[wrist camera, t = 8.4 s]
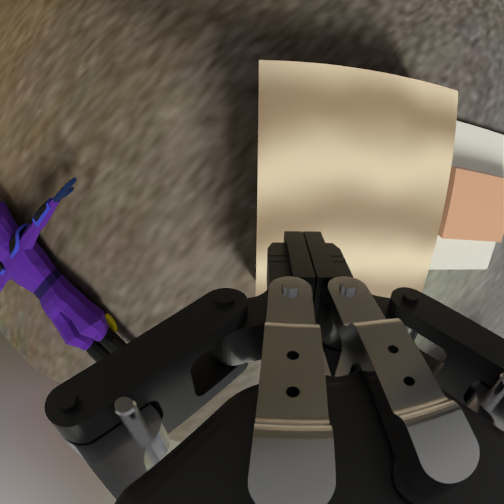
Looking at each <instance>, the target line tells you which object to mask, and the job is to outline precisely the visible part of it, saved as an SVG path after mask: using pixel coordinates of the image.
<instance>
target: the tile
mask: <svg viewBox="0 0 504 504" xmlns="http://www.w3.org/2000/svg"><path fill="white" fill-rule="evenodd" d="M503 234H504V177H503V176H499V175H495V174H490V173H486V172H482V171H477V170H472V169H468V168H463V167H458V166H453V165H451V171H450V178H449V184H448V189H447V195H446V200H445V205H444V210H443V215H442V219H441V224H440V228H439V232H438V235H439V236H440V237H441V238H442V239H459V240H476V241H491V242H501V240H502V237H503Z"/></svg>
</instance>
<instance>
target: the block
mask: <svg viewBox="0 0 504 504" xmlns="http://www.w3.org/2000/svg"><path fill="white" fill-rule="evenodd" d="M457 105H458V91H456V90H452V89H449V88H446V87H442V86H439V85H435V84H432V83H428V82H424V81H420V80H416V79H412V78H407V77H403V76H398V75H394V74H389V73H384V72H378V71H373V70H367V69H360V68H354V67H347V66H339V65H331V64H321V63H310V62H296V61H277V60H259V102H258V183H257V249H256V296H259V295H261V294H263V293H264V292H265V291H266V290H267V248H268V247H269V246H270V245H271V243H272V242H284V231H302V232H303V231H320V232H321V234H322V236H323V238H324V241H325V243H333V244H335V245H336V246H337V247H338V248H340V250H341V252H342V254H343V257H344V258H345V260H346V263H347V264H348V267H349V269H350V271H351V273H352V275H353V277H354V278H356V279H358V280H360V281H362V282H363V283H364V284H365V285H366V286H367V288H368V289H369V291H370V293H371V294H372V295H376V296H381V297H386V298H390V297H391V293H392V291H393V290H395V289H397V288H400V287H408V288H412V289H415V290H418V291H420V292H421V293H422V289H423V286H424V283H425V280H426V277H427V273H428V270H429V266H430V263H431V259H432V256H433V252H434V248H435V244H436V240H437V236H438V232H439V228H440V224H441V219H442V215H443V210H444V205H445V200H446V195H447V189H448V184H449V178H450V171H451V165H452V157H453V150H454V141H455V131H456V120H457Z"/></svg>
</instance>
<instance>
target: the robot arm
mask: <svg viewBox="0 0 504 504" xmlns="http://www.w3.org/2000/svg"><path fill="white" fill-rule="evenodd" d="M417 333H419V334H420V335H422V336H423V337H425V338H427V339H428V340H430V341H432V342H433V343H435V344H437V345H438V346H440V347H442V348H443V349H444V350H445V352H446V354H447V359H446V361H445V362H439V361H437V360H436V359H434V358H433V357H431V356H429V355H428V354H426V353H425V352H423V351H421V350H420V349H418V347H417V346H416V344H415V342H414V340H415V338H416V336H417ZM260 359H261V370H260V380H259V384H257V385H254V386H251V387H249V388H247V389H244V390H242V391H241V392H239V393H237V394H236V395H234V396H233V397H231V398H230V399H229V400H228V401H226V402H225V403H224V404H223V405H222V406H221V407H220V408H219V409H218V410H217V411H216V412H215V413H214V414H212V415H211V416H210V417H209V418H208V419H207V420H206V421H205V422H204V423H203V424H202V425H201V426H199V427H198V428H197V429H196V430H195V431H194V432H193V433H192V434H190V435H189V436H188V437H187V438H186V439H185V440H184V441H183V442H181V443H180V444H179V445H178V446H177V447H176V448H174V449H173V450H172V451H171V452H170V453H169V454H168V455H166V456H165V457H164V458H163V459H162V460H160V459H161V458H162V457H163V456H164V455H165V454H166V452H167V451H168V449H169V445H170V438H169V435H168V434H169V433H170V432H171V431H172V430H174V429H175V428H176V427H177V426H179V425H180V424H181V423H182V422H184V421H185V420H186V419H187V418H189V417H190V416H191V415H192V414H194V413H195V412H196V411H197V410H199V409H200V408H201V407H202V406H203V405H205V404H206V403H207V402H208V401H209V400H211V399H212V398H213V397H214V396H215V395H217V394H218V393H219V392H220V391H221V390H222V389H224V388H225V387H226V386H227V385H228V384H229V383H230V382H232V381H233V380H234V379H235V378H236V377H237V376H238V375H240V374H241V373H242V372H243V371H244V370H245V369H246V367H247V366H248V362H252V361H256V360H260ZM45 413H46V416H47V417H48V419H49V420H50V421H51V422H52V424H53V425H54V426H55V427H56V428H57V429H58V431H59V432H60V434H61V435H62V437H63V438H64V439H65V440H66V441H67V442H68V444H69V445H70V446H71V447H72V448H73V449H74V450H75V451H76V452H77V453H78V454H79V455H80V456H81V457H82V458H84V459H85V460H86V462H87V463H88V465H89V466H90V467H91V468H92V470H93V471H94V472H95V474H96V475H97V476H98V478H99V479H100V480H101V481H102V483H103V484H104V485H105V486H106V488H107V489H108V490H109V491H110V492H111V493H112V495H113V496H114V497H115V498H116V499H117V500H116V502H115V504H504V339H503V338H501V337H500V336H498V335H496V334H495V333H493V332H491V331H489V330H488V329H486V328H484V327H483V326H481V325H479V324H477V323H476V322H474V321H472V320H470V319H469V318H467V317H465V316H463V315H461V314H460V313H458V312H456V311H454V310H453V309H451V308H449V307H447V306H445V305H443V304H442V303H440V302H438V301H436V300H434V299H433V298H431V297H429V296H427V295H425V294H423V293H421V292H420V291H418V290H415V289H412V288H408V287H400V288H397V289H395V290H393V291H392V293H391V297H390V298H386V297H381V296H376V295H372V294H371V293H370V291H369V289H368V288H367V286H366V285H365V284H364V283H363V282H362V281H360V280H358V279H356V278H354V277H353V275H352V273H351V271H350V269H349V267H348V264H347V263H346V260H345V258H344V257H343V254H342V252H341V250H340V248H338V247H337V246H336V245H335V244H333V243H325V241H324V238H323V236H322V234H321V232H320V231H303V232H302V231H284V242H272V243H271V245H270V246H269V247H268V248H267V290H266V291H265V292H264V293H263V294H261V295H259V296H256V297H252V298H247V297H246V296H245V294H244V293H242V292H241V291H238V290H236V289H231V288H221V289H216V290H213V291H211V292H209V293H207V294H206V295H204V296H203V297H201V298H200V299H198V300H196V301H195V302H193V303H192V304H190V305H188V306H187V307H185V308H184V309H182V310H180V311H179V312H177V313H176V314H174V315H172V316H171V317H169V318H168V319H166V320H164V321H163V322H161V323H160V324H158V325H156V326H155V327H153V328H152V329H150V330H148V331H147V332H145V333H143V334H142V335H140V336H139V337H137V338H135V339H134V340H132V341H131V342H129V343H127V344H126V345H124V346H122V347H121V348H119V349H118V350H116V351H114V352H113V353H111V354H109V355H108V356H106V357H105V358H103V359H101V360H100V361H98V362H96V363H95V364H93V365H92V366H90V367H88V368H87V369H85V370H83V371H82V372H80V373H78V374H77V375H75V376H73V377H72V378H70V379H69V380H67V381H65V382H64V383H62V384H60V385H59V386H57V387H56V388H54V389H53V390H52V391H51V393H50V394H49V395H48V397H47V399H46V402H45ZM159 460H160V461H159Z"/></svg>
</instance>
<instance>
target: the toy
mask: <svg viewBox="0 0 504 504" xmlns="http://www.w3.org/2000/svg"><path fill="white" fill-rule="evenodd" d="M75 182H76V177H75V178H73V179H72V180H70V181H69V182H68V183H66V184H65V186H64V187H63V188H62V189H61V190H60V191H59V192H58V193H57V194H56V196H55V197H54V198H49V199H48V200H47V201H46V202H45V203H44V204H43V205H42V206H41V207H40V208H39V210H38V211H37V212H36V213H35V215H34V217H33V219H32V221H33V222H32V223H31V224H27V223H25V224H23V225H21V226H20V227H19V226H18V224H17V223H16V221H15V220H14V218H13V217H12V216H11V214H10V212H9V210H8V207H7V205H6V203H5V202H2V201H0V291H1V290H2V289H3V288H4V286H5V284H6V282H7V281H8V280H10V279H12V280H13V281H15V282H16V283H17V284H19V285H20V286H22V287H24V288H26V289H27V290H29V291H31V292H32V293H34V294H35V295H36V297H37V298H38V299H39V300H40V303H41V306H42V308H43V310H44V311H45V313H46V315H47V316H48V317H49V318H50V319H51V320H52V322H53V323H54V325H55V327H56V328H57V330H58V331H59V333H60V335H61V336H62V338H63V340H64V341H65V343H66V344H67V345H71V346H75V347H79V348H81V349H83V350H86V351H87V352H88V354H89V355H90V356H91V357H92V358H93V359H94V360H95V361H96V362H98V361H100V360H101V359H103V358H105V357H106V356H108V355H109V354H111V353H113V352H114V351H116V350H118V349H119V348H121V347H122V346H124V345H126V343H125V342H124V341H123V340H122V339H121V338H120V337H119V336H118V335H117V334H116V333H115V332H116V331H117V325H116V322H115V321H114V319H113V318H112V316H111V315H110V314H109V313H107V314H104V311H103V310H101V309H100V308H99V307H97V306H96V305H95V304H94V303H92V302H91V301H90V300H89V299H87V298H86V297H85V296H84V295H83V294H82V293H81V292H80V291H79V290H78V289H77V288H75V287H74V286H73V285H72V284H71V283H70V282H69V281H68V280H67V279H66V278H65V277H64V276H63V275H62V274H61V273H60V272H59V271H58V269H57V268H56V267H55V266H54V264H53V263H52V261H51V260H50V259H49V257H48V256H47V254H46V253H45V251H44V250H43V249H42V248H41V247H40V246H39V244H38V243H37V242H36V240H37V238H38V235H39V233H40V231H41V230H42V229H43V228H44V227H45V226H46V224H47V222H48V221H49V219H50V217H51V216H52V214H53V212H54V210H55V209H56V207H57V205H58V203H59V201H60V200H61V199H62V198H64V197H65V196H67V195H68V194H70V193H71V192H72V191H73V190H74V187H72V185H73V184H74V183H75ZM71 187H72V188H71Z"/></svg>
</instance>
